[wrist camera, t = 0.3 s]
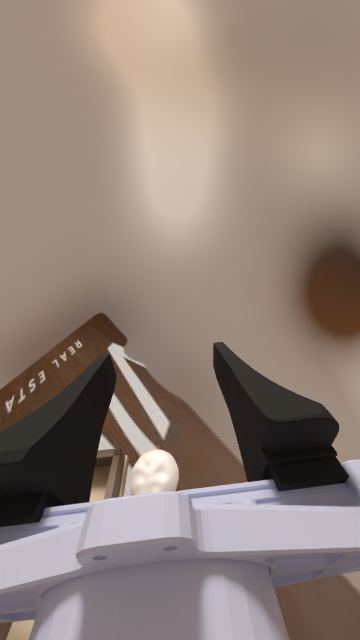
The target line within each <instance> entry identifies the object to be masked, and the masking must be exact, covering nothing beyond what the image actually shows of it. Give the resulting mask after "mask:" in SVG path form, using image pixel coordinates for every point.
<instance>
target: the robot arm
mask: <svg viewBox="0 0 360 640" xmlns="http://www.w3.org/2000/svg"><path fill="white" fill-rule="evenodd" d="M213 366H214V370H215V374H216V378H217V381H218V383H219V386H220V389H221V391H222V394H223V396H224V399H225V401H226V404H227V407H228V409H229V412H230V415H231V419H232V423H233V426H234V430H235V433H236V437H237V441H238V445H239V449H240V452H241V456H242V460H243V464H244V469H245V473H246V477H247V481H248V482H246V483H238V484H230V485H223V486H215V487H207V488H199V489H191V490H183V491H165V492H157V493H149V494H141V495H133V496H125V497H117V498H109V499H105V500H101V501H96V502H90V495H91V488H92V481H93V475H94V469H95V463H96V457H97V452H98V447H99V442H100V437H101V432H102V428H103V424H104V421H105V418H106V415H107V411H108V408H109V405H110V402H111V399H112V396H113V392H114V389H115V384H116V377H117V375H116V372H115V369H114V366H113V363H112V360H111V357H110V354H104V355H100V356H99V357H98V358H97V359H96V360H95V361H94V362H93V363H92V364H91V365H90V366H89V367H88V368H87V369H86V370H85V371H83V372H82V373H81V374H80V375H79V376H78V377H77V378H76V379H75V380H74V381H73V382H72V383H71V384H69V385H68V386H67V387H66V388H65V389H64V390H62V391H61V392H60V393H59V394H58V395H56V396H55V397H54V398H52V399H51V400H50V401H48V402H47V403H46V404H44V405H43V406H41V407H40V408H38V409H37V410H35V411H34V412H32V413H31V414H29V415H28V416H26V417H25V418H23V419H22V420H20V421H18V422H17V423H15V424H13V425H12V426H10V427H8V428H6V429H5V430H3V431H1V432H0V623H5V622H17V621H28V620H35V621H34V624H33V627H32V630H31V633H30V636H29V640H289V637H288V633H287V630H286V627H285V623H284V620H283V617H282V613H281V610H280V606H279V603H278V600H277V596H276V593H275V590H274V587H279V586H284V585H289V584H294V583H299V582H304V581H309V580H314V579H319V578H324V577H329V576H334V575H339V574H344V573H349V572H355V571H360V459H358V460H350V461H346V462H344V463H342V464H340V462H339V461H338V460H337V458H336V457H335V456H337V452H336V451H335V449H334V448H333V447H332V443H333V441H334V439H335V438H336V436H337V434H338V431H339V424H338V422H337V421H336V420H335V419H334V417H333V416H332V415H331V414H330V413H329V411H328V410H327V409H326V408H325V407H324V406H323V405H322V404H320V403H318V402H315V401H313V400H310V399H308V398H305V397H303V396H301V395H298V394H296V393H294V392H292V391H290V390H288V389H286V388H284V387H282V386H279V385H278V384H276V383H274V382H273V381H271V380H269V379H267V378H266V377H264V376H263V375H261V374H260V373H258V372H257V371H255V370H254V369H252V368H251V367H250V366H249V365H247V364H246V363H245V362H244V361H242V360H241V359H240V358H239V357H238V356H236V355H235V354H234V353H233V352H232V351H231V350H230V349H229V348H228V347H227V346H226V345H225V344H224V343H223V342H217V343H214V348H213Z"/></svg>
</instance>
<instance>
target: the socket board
mask: <svg viewBox="0 0 360 640" xmlns="http://www.w3.org/2000/svg"><path fill="white" fill-rule="evenodd" d="M128 461H129V458H128V456H127V455H124V453H123V451H122V450H121V448H118V449H109V450H100V451H98V452H97V457H96V463H95V469H94V475H93V481H92V488H91V495H90V502H96V501H101V500H105V499H109V498H117V497H123V495H124V488H125V481H126V475H127V468H128ZM34 621H35V620H28V621H17V622H5V623H0V640H29V636H30V633H31V630H32V627H33V624H34Z"/></svg>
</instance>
